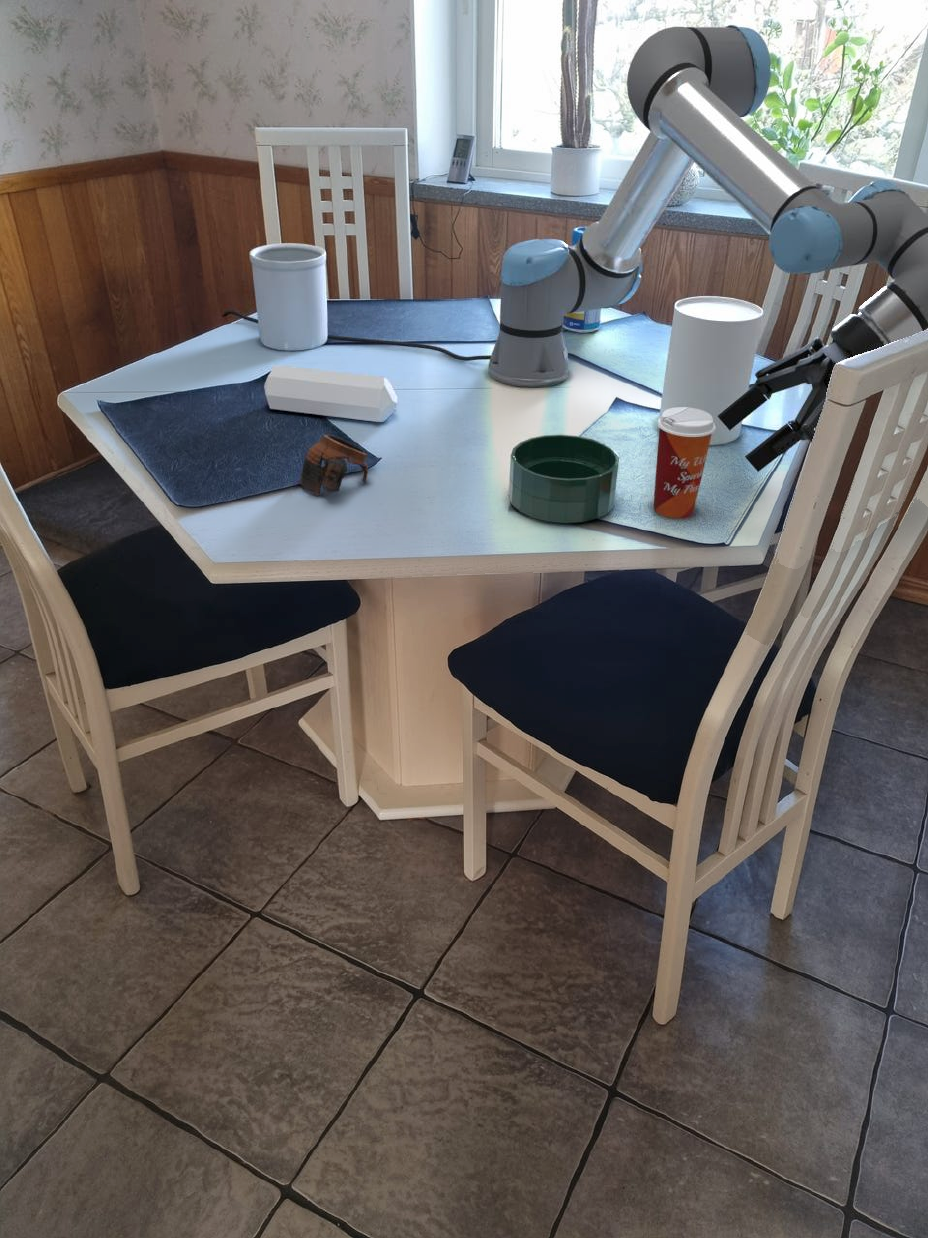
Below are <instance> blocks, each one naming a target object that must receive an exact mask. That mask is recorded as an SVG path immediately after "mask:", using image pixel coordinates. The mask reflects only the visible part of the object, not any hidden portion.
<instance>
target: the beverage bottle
mask: <svg viewBox="0 0 928 1238" xmlns="http://www.w3.org/2000/svg"><path fill="white" fill-rule="evenodd" d="M586 228H587V226H579V227H575V228H574V229H573V230H572V232H571V233H572V234H571V236H572V237H571V246H574V245H576V244H577V243H578V241H579V239H580V238H581V236H582V234H583V232H584V230H585V229H586ZM601 314H602V309H595V310H588V311H582V312H575V313H569V314H564V315H563V325H562V328H563V329H565V330H566V331H569V332H573V333H582V334H583V333H592V332H596V331H598V330H599V329H600V327H601Z"/></svg>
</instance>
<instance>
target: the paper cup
mask: <svg viewBox="0 0 928 1238" xmlns="http://www.w3.org/2000/svg"><path fill="white" fill-rule="evenodd" d="M658 426H659V428H658V440H657V441H658V442H657V451H656V452H657V454H656V467H655V480H654V493H653V509H654V511H655V512H656V514H658V515H660V516H662V517H665V518H670V519H685V518H688V517H690V516H692V515H693V513H694V509H695V506H696V502H697V498H698V495H699V494H698V493H699V490H700V486H701V482H702V479H703V473H704V469H705V464H706V461H707V458H708V457H707V456H708V452H709V448H710V445H709V444H710V440H711V436H712V433H713V432H714V431H715V428H716V427H715V424H714V422H713V418H712V416H711V415H710V414H709V413H707V412H705V411H703V410H700V409H695V408H690V407H675V408H670V409H667V410H665V411H664V412H663V414H662V416H661V418H660V419H659V418H658V420H657V427H658Z"/></svg>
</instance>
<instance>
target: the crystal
mask: <svg viewBox="0 0 928 1238" xmlns="http://www.w3.org/2000/svg"><path fill="white" fill-rule="evenodd" d="M263 388H264V393H265V397H266V401H267V404H268V407H269V409H270V410H278V411H287V412H294V413H302V414H303V413H304V414H312V415H317V416H327V417H334V418H335V417H336V418H343V419H352V420H361V421H369V422H376V423H384V422H385V421H386V420H387V419H388V418H389V417H390V416H391V415H392V414H393V413H394V412H396V410H397V405H398V396H397V394H396V391H395V390H394V387H393V386H392V384H391V382H390V380H389V379H388V378H386V377H385V376H378V375H369V374H361V373H352V372H343V371H342V372H341V371H332V370H326V369H325V370H324V369H315V368H306V367H297V366H287V365H280V364H275V365H274V366H273V367H272V369H271V370H270V372H269V374H268V375H267V377H266V380H265V382H264V385H263Z"/></svg>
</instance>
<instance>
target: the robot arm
mask: <svg viewBox="0 0 928 1238" xmlns="http://www.w3.org/2000/svg"><path fill="white" fill-rule="evenodd" d="M632 57H633V58H632V60H631V62H630V64H629V68H628V72H627V78H626V79H627V80H626V88H627V98H628V101H629V103H630V106H631V108H632V111H633V112H634V114H635V116H636V117H637V119H639V121H640V122H641V124H642V125H643V126H644V128H646V129H647V130H648V131H649V133H648V135H647V136H646V139H645V140H644V142H643V144H642V145H641V147H640V149H639V150H638V153H637V154H636V155H635V157H634V159H633V161H632V163H631V165H630V167H629V168H628V170H627V172H626V174H625V176H624V177H623V179H622V181H621V182H620V183H619V186H618V187H617V189H616V190H615V193H614V195H613V197H612V199H611V200H610V202H609V203H608V204H607V206H606V209H605V211H604V212H603V214H602V216H601V217H600V220H599V221H595V222H592V223H589V225H587V226H586V227H587V228H586V229H585V230H584V232H583V234H582V236H581V238H580V239H579V241H578V243H577V244H576V245H574V246H572V245H568V244H566V243H565V242H564V241H563V240H560V239H555V238H543V239H539V238H535V239H528V240H525V241H521V242H517V243H515V244H513V245H511V246H510V247H509V248H507V250H506V251H505V253H504V254H503V256H502V262H501V263H502V264H501V271H500V275H499V277H500V278H499V279H500V305H499V307H500V308H499V332H498V336H497V338H496V341H495V343H494V346H493V348H492V349H493V350H492V352H491V354H490V355H489V354H488V355H473V356H463V355H459V354H456V353H454V352H452V351H450V350H448V349H446V348H443V347H440V346H436V345H431V344H430V345H429V344H423V343H413V342H406V341H395V340H383V339H374V338H362V337H352V336H343V335H342V336H341V335H334V334H327V340H336V341H344V342H345V341H346V342H354V343H355V342H356V343H366V344H374V345H375V344H377V345H388V346H397V347H407V348H417V349H425V350H431V351H435V352H439V353H442V354H445V355H446V356H448V357H450V358H453V359H455V360H459V361H463V362H464V361H465V362H471V361H483V360H484V361H485V360H489V362H488V374H489V376H490V377H491V378H492V379H493V380H495V381H497V382H500V383H502V384H506V385H508V386H509V385H511V386H514V387H523V388H524V387H525V388H542V387H548V386H550V387H551V386H554V385H557V384H560V383H562V382H564V381H566V380H567V379H568V377H569V374H570V372H569V371H570V362H569V358H568V357H569V352H568V348H567V347H566V346H565V341H564V338H563V315H564V314H569V313H575V312H582V311H588V310H595V309H601V310H602V309H610V308H614V307H616V306H619V305H621V304H624V303H626V302H628V301H629V300H630V299H631V298H632V297H633V296H634V295H635V294H636V292H637V290H638V288H639V286H640V284H641V281H642V276H641V274H640V273H641V272H642V271H643V260H642V250H641V247H642V245H643V243H644V242H645V240H646V239H647V237H649V236H648V235H649V234H650V233H651V231H652V229H653V228H654V226H655V224H656V223H657V222H658V220H659V219H660V217H661V215H662V214H663V212H664V211H665V209H666V207H667V206H668V205H669V203H670V201H671V200H672V198H673V197H674V195H675V193H676V192H677V190H678V189H679V188H680V185H681V184H682V182H683V181H684V179H685V178H686V176H687V175H688V173H689V171H690V170H691V169H692V167H693V165H694V164H695V165H696V166H697V167H698V168H700V170H702V172H703V173H705V174H706V176H707V177H708V178H710V179H711V180H712V181H713V183H715V184H716V185H717V186H718V187H719V188H720V189H721V190H723V191H724V193H725V194H727V196H729V197H730V198H731V199H732V200H733V201H734V202H735V203H736V204H737V205H738V206H739V207H740V208H741V209H742V210H743V212H745V213H746V214H747V215H748V216H749V217H751V219H752V220H754V221H755V222H756V223H757V224H758V225H759V226H760V227H761V228H762V229H763V230H764V231H765V232H766V233H767V234H768V235H769V239H768V240H769V241H768V247H769V253H771V255H772V256H771V257H772V261H773V264H775V266H776V267H777V268H778V269H779V270H780V271H782V272H785V273H786V274H790V275H796V274H805V275H811V274H812V275H813V274H819V273H821V272H825V271H831V270H836V269H841V268H846V267H853V266H858V265H859V266H860V265H865V264H871V263H876V264H878V265H879V266H880V267H881V268H882V270H883V271H884V272H886V274H887V275H888V276H890V278H891V279H892V281H890V282H889V283H888V284H887V285H886V286H883V287H882V288H881V289H880V290H879V291H877V292H876V293H875V294H874V295H873V296H872V297H870V298H869V299H868V300H867V301H865V302H864V303H863V304H862V305H860V306H859V307H858V308H857V309H858V310H857V311H858V314H855V313H853V314H849V315H848V316H847V317H846V318H845V319H843V320H842V321H841V322H840V323H838V324H837V325H836V326H834V328H833V329H831V331H830V338H832V341H831V343H828V344H827V345H825V343H824V342H823V341H822V340H821V338H820V337H815V338H814V339H813V340H811V341H810V342H809V343H807V344H806V345H804V347H801V348H799V349H797V350H795V351H793V352H792V353H790V354H788V355H786V356H784V357H782V358H780V359H778V360H776V361H774V362H773V363H771V364H769V365H767V366H765V367H763V368H761V369H759V370H757V371H756V372H755V373H754V376H755V378H756V380H755V382H754V385H753V386H752V387H751V388H749V389H748V391H747V392H746V393H745V394H744V395H742V396H741V397H740V398H739V399H737V400H736V401H735V402H734V403H733V404H731V405H730V406H729V407H728V408H726V409H725V410H724V411H723V412H722V413H720V414H719V415H718V418H719V419H720V420H721V421H722V422H723V423H724V425H725V426H726V427H727V428H728V429H729V430H731V429H732V428H734V427H735V426H736V425H737V424H738V423H740V422H741V421H742V422H743V421H744V420H745V419H746V418H747V417H749V416H750V415H751V414H752V413H754V412H755V411H756V410H757V409H758V408H760V407H761V406H762V405H763V404H764V403H766V402H767V401H768V400H771V398H772V396H773V394H776V393H779V392H782V391H785V390H788V389H791V388H794V387H797V386H800V385H803V384H806V385H811V391H810V392H809V394H808V395H807V398H805V401H804V402H803V404H802V406H801V408H800V410H799V411H798V412H797V415H796V416H795V419H792V420H788V422H787V423H785V424H784V425H782V426H781V427H780V428H779V429H777V430H776V431H775V432H774V433H772V434H771V435H770V436H769V437H767V438H766V439H765V440H764V441H762V442H761V443H759V445H757V446H756V447H755V448H753V449H752V450H750V451H749V452H748V453H747V454H745V456H744V457H745V459H746V460H747V461H748V462H749V464H750V465H751V466H752V467H753V468H754V469H755V470H756V472H757V473H759V472H760V471H762V470H763V469H764V468H766V467H767V466H768V465H770V464H771V463H772V462H774V461H775V460H776V459H778V457H780V456H781V455H783V454H785V453H786V452H787V451H788V450H790V449H791V448H792V447H794V446H795V445H796V444H797V443H799V442H800V441H809V442H810V443H811V442H812V439H813V436H814V433H815V429H816V426H817V423H818V420H819V417H820V414H821V412H822V409H823V405H824V402H825V399H826V392H827V388H828V384H829V381H830V377H831V374H832V370H833V367H834V365H835V364H836V363H838V362H840V361H842V360H844V359H847V358H850V357H853V356H855V355H858V354H862V353H864V352H867V351H871V350H874V349H877V348H879V347H882V346H884V345H886V344H889V343H891V342H894V341H897V340H900V339H903V338H906V337H909V336H912V335H914V334H916V333H919V332H921V331H924V330H925V331H926V330H927V329H928V214H927V213H926V212H925V211H924V210H923V209H922V208H921V207H920V206H919V205H918V204H917V203H916V202H915V201H914V200H913V199H912V197H910V194H909V193H907V192H905V191H904V190H903V189H901V188H899V186H897V185H895V184H894V183H893V182H892V181H890V180H888V179H876V180H873V181H871V182H870V184H869V185H864V186H863V187H861V188H860V189H859V190H858V191H856V192H855V193H854V195H853V196H852V197H851V198H850V199H849V200H848V202H836V201H834V200H833V199H832V198H831V197H829V195H827V194H826V193H825V192H823V191H822V190H821V189H820V188H819V187H818V186H817V185H816V184H814V182H812V181H811V180H810V179H809V178H808V177H807V176H805V174H803V173H802V172H801V171H800V170H799V169H798V168H797V167H796V166H795V165H793V164H792V163H791V162H790V161H789V160H788V159H787V158H786V157H785V156H784V155H783V154H781V152H779V151H778V150H777V149H776V148H775V147H774V146H773V145H772V144H770V143H769V142H768V141H767V140H766V139H765V138H764V137H763V136H762V135H760V134H759V133H758V132H757V131H756V130H755V129H754V128H753V127H751V126H750V124H748V123H747V122H746V121H745V120H744V119H743V118H745V117H747V116H749V115H751V114H753V113H755V112H756V111H757V110H758V109H759V108H760V107H761V106H762V104H763V103H764V101H765V99H766V97H767V95H768V91H769V88H770V84H771V79H772V77H771V76H772V72H771V64H772V62H771V61H772V60H771V55H770V51H769V47H768V46H767V43H766V42H765V39H764V38H763V37H762V35H761V34H760V33H758V31H756V30H754V29H753V28H751V27H745V26H737V25H734V24H729V25H726V26H670V27H666V28H663V29H661V30H658V31H657V32H655V33H653V34H652V35H650V36H649V37H648V38H646V40H644V41H643V43H642V44H641V45H640V46H639V47H638V49H637V50H636V52H635V53H634V55H633V56H632ZM229 315H235V316H237V317H239V318H241V319H243V320H245V321H248V322H251V323H255V324H258V318H254V317H251V316H247V315H245V314H243V313H241V312H239V311H236V310H235V309H234V310H232V309H229V310H226V311H224V312H223V314H222V315H221V317H223V318H226V317H227V316H229ZM925 331H924V332H925Z"/></svg>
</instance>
